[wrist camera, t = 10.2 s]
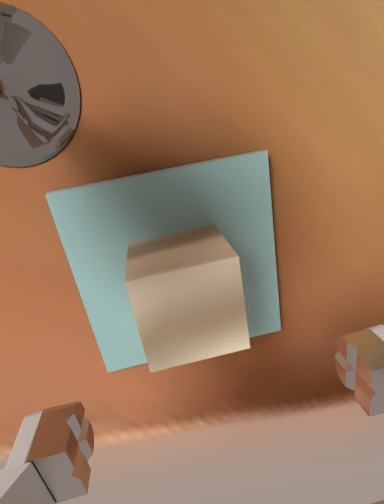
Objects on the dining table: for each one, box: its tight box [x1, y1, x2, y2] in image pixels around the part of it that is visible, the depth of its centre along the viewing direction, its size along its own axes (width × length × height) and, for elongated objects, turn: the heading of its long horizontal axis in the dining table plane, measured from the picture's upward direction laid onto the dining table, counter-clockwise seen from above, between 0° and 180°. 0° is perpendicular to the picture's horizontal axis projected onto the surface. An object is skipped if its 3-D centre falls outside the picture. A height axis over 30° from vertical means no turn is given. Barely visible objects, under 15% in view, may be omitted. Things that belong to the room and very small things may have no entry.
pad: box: [45, 150, 281, 372], centre depth 19 cm, size 12×12×1 cm
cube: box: [125, 224, 250, 373], centre depth 17 cm, size 5×5×5 cm
